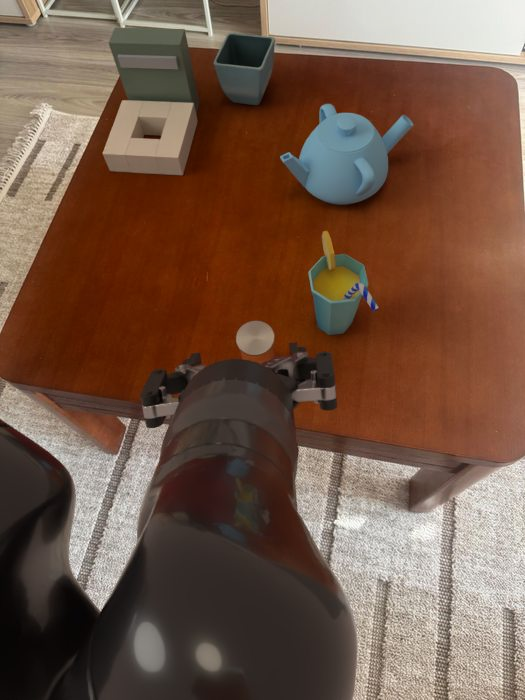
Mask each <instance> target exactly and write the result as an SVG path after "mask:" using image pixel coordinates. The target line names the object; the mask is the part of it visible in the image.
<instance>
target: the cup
mask: <svg viewBox="0 0 525 700" xmlns="http://www.w3.org/2000/svg"><path fill="white" fill-rule="evenodd" d="M321 241H322V248H323V249H322V250H323V254H324V255H323V256H321V257H320V258H319V260H318V261H317V262H316V263H315V264H314V265H313V266H312V267H311V268H310V270H309V271H308V277H309V283H310V291H311V295H312V296H313V304H314V312H315V319H316V325H317V328H318V329H319V330H321V331H323V332H324V333H326V334H327V335H329V336H333V335H342V334H344V333H345V332H346V331H347V330H348V329H349V328H350V326H351V325H352V324H353V321H354V319H355V316H356V313H357V312H358V308H359V305H360V302H361V300H362V297H363V298H364V300H365V301H366V304H368V306H369V307H370V309H371V311H372V312H376V311H377V310H378V309H379V308H380V307H379V306H378V304H377V302H376V300H375V299H374V297H373V296H372V295H371V293H370V291H369V290H368V287H369V279H368V276H367V271H366V267H365V266H366V265H364V264H363V263H361V262H360V261H358V260H356V259H354V257H351V256H349V255H348V254H346V253H341V254H335V251H334V246H333V242H332V238H331V236H330V233H329V231H328V230H324V231H322V232H321Z"/></svg>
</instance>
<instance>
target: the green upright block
mask: <svg viewBox="0 0 525 700" xmlns="http://www.w3.org/2000/svg"><path fill="white" fill-rule="evenodd" d="M111 33H112V34H111V35H110V38H109V41H108V45H109V49H110V52H111V55H112V57H113V58H112V59H113V60H114V61H113V62H114V64H115V66H116V69H117V72H118V75H119V78H120V81H121V84H122V86H123V90H124V92H125V96H126V98H127V99H126V100H132V101H159V102H184V103H194V107H195V111H196V115H197V114H198V110H199V107H200V97H199V91H198V88H197V83H196V78H195V74H194V68H193V63H192V58H191V53H190V48H189V44H188V39H187V34H186V29H185V28H156V27H155V28H153V27H151V28H150V27H149V28H148V27H114V28H113V31H112V32H111Z"/></svg>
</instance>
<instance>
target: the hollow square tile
mask: <svg viewBox="0 0 525 700" xmlns="http://www.w3.org/2000/svg"><path fill="white" fill-rule="evenodd" d="M198 122H199V121H198V115H197V114H196V111H195V107H194V103H184V102H159V101H132V100H128V99H124V100H123V99H122V100H121V102H120V105H119V108H118V110H117V113H116V116H115V119H114V122H113V123H112V124H113V125H112V127H111V130H110V132H109V135H108V138H107V141H106V143H105V146H104V149H103V151H102V156H103V158H104V161H105V163H106V165H107V168H108V170H109V172H116V173H133V174H134V173H135V174H151V175H167V176H169V175H170V176H184V173H185V170H186V166H187V162H188V159H189V155H190V151H191V147H192V144H193V140H194V136H195V133H196V130H197V125H198ZM145 136H160V138H144V137H145Z"/></svg>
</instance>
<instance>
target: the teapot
mask: <svg viewBox="0 0 525 700" xmlns="http://www.w3.org/2000/svg"><path fill="white" fill-rule="evenodd" d="M318 117H319V124H318V125H316V127H315V128H314V129H313V130H312V131H311V133H310V134H309V136H308V137H307V138H306V139H305V141H304V144H303V146H302V148H301V150H300V154H299V158H297V157H296V156H295V155H293V154H292V153H291V152H290V151H289V152H286V153H284V154H282V155H280V156H279V158H280V160H281V161H282V163H283V164H284V166H286V168H287V169H288V170H289V172H291V174H292V175H293V176H294V178H295V179H296V180H297V181H298V182H299V183H300V184H301V185H302V187H303V188H304V189H305V190H306V191H307V192H308V193H309V194H311V195H312V196H313V197H315V198H317V199H318V200H321V201H322V202H325V203H327V204H331V205H338V206H339V205H340V206H344V205H345V206H346V205H352V204H357V203H360V202H362V201H364V200H367V199H368V198H370V197H372V196H373V195H375V194H376V193H378V191H379V190H380V189H381V188H382V187H383V185H384V183H386V179H387V177H388V173H389V157H388V154H389V153H390V152H391V151H392V149H393V148H394V147H395V146H396V145H397V144H398V143H399V142H400V141H401V140H402V138H403V137H404V136H405V135H407V133H408V132H409V131H410V130H411V129H412V128H413V127H414V122H413V121H412V120H411V119H410V118H409V117H408V116H407V115H405V114H402V115H401V116H400V117H399V118H398V119H397V120H396V121H395V123H394V124H393V125H392V126H391V127H390V128H389V129H388V130H387V131H386V133H384V135H380V133H379V131H378V130H377V128H376V127H375V125H373V123H372V122H371V121H370V120H369V119H368V118H366V117H364V116H363V115H361V114H358V113H354V112H338V113H337V110H336V108H335V106H334V105H333V104H332V103H324V104H322V105H321V106H320V108H319V115H318Z"/></svg>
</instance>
